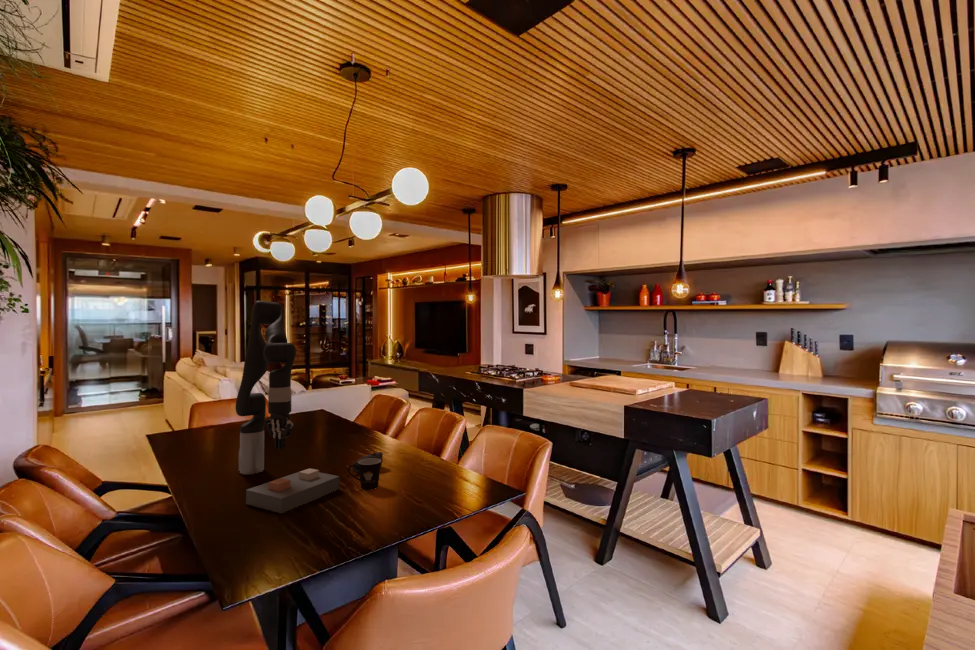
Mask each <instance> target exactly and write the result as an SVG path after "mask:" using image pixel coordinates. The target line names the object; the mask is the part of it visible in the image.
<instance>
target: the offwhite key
mask: <svg viewBox="0 0 975 650" xmlns="http://www.w3.org/2000/svg"><path fill="white" fill-rule="evenodd" d="M298 472H299V479H301V480H306V481H310V480H312V479H315V478H318V477H319V472H320V470H319V469H315V468H311V467H310V468H307V469H304V470H301V471H298Z"/></svg>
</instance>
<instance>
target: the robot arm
mask: <svg viewBox="0 0 975 650" xmlns="http://www.w3.org/2000/svg"><path fill="white" fill-rule="evenodd" d="M261 325H268V327H267V328H266V330H264V331H265V332H264V336H263V335H262V334H263V333H262V331H261V328H260V327H261ZM296 356H297V348H296V346H295V345H294V344H293V343H292V342H288V338H287V335H286V331H285V311H284V306H283V305H282V304H281V303H280V302H275V301H267V300H266V301H265V300H256V301H255V302H254V304H253V307H252V312H251V321H250V332H249V338H248V344H247V347H246V352H245V357H244V364H243V371H242V377H241V381H240V385H239V389H238V393H237V396H236V401H235V412H236V415H238V416H239V417H250V416H252V417H251V418H250V419H249V420H248V421H246V422H244V423H242V424H241V425H239V426H240V427H239V449H238V472H239V471H240V472H239V474H241V473H242V474H241V475H255V473H256V474H259V472H260V473H262V472H264V471H263V470H265V426H266V429H267V431H268V434H269V436H270V437H272V438H273V440H274V442H273V443H274V445H273V446H274V449H276V450H284V449H285V448H286V438H289V437H291V434H292V432H293V431H294V429H295V426H296V423H295V422H292V421H291V417H290V413H291V412H292V389H291V388H292V386H291V385H292V384H291V383H292V381H291V380H292V379H291V377H292V371H293V366H294V362H295V359H296ZM283 363H284V365H283V366H282V367H281V368H277V369H272V370H270V372H269V373H268V395H267V397H268V399H267V400H268V401H266V397H265V395H264V394H263V393H262V392H253V393H252V390H253V389H254V387H255V385H256V384H257V383H258V382H259V381H260V380H261V379H262V377H264V375H266V373H267V371H268V370H269V366H270V364H283ZM266 402H267V403H266ZM266 406H267V407H266ZM266 409H267V410H266ZM266 411H267V413H268V414H269V415H270V416H269V418H268V419H266Z"/></svg>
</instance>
